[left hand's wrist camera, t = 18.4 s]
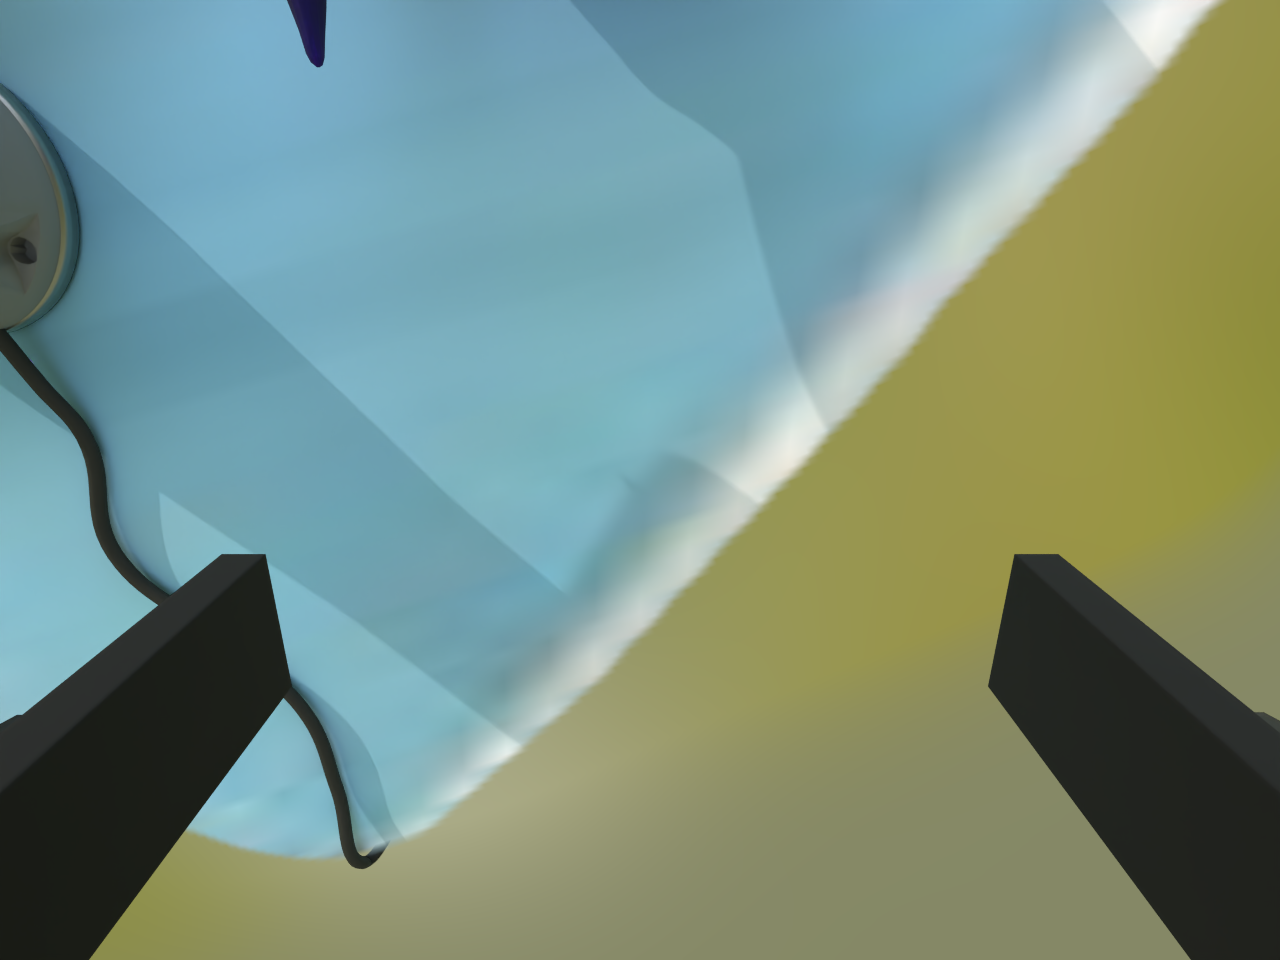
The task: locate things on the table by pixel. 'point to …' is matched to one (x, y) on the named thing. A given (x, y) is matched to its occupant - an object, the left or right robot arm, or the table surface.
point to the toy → (311, 27)
